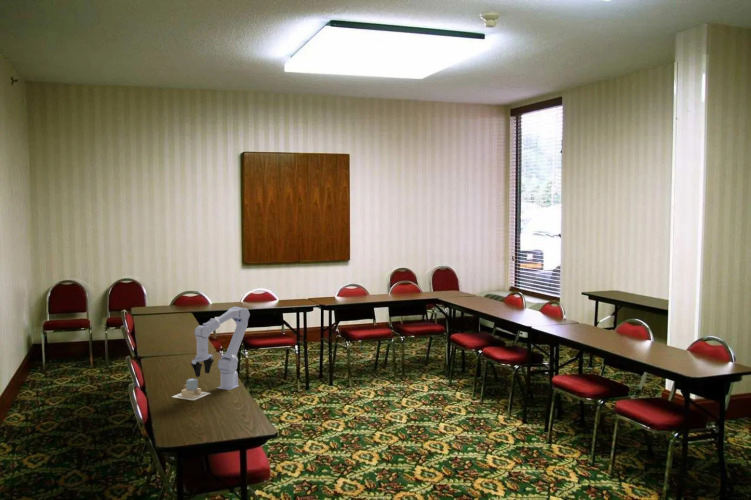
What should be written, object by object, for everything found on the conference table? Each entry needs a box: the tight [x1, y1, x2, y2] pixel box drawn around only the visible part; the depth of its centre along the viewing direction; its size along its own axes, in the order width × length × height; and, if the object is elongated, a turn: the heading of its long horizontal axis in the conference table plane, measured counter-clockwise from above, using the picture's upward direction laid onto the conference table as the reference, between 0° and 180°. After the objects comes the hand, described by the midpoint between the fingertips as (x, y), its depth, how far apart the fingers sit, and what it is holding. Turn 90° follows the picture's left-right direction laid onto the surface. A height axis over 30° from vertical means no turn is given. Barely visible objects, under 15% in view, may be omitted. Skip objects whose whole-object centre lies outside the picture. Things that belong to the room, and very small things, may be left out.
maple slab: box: [180, 387, 202, 398], centre depth 329 cm, size 7×7×3 cm
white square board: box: [171, 391, 211, 401], centre depth 329 cm, size 14×14×1 cm
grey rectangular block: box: [185, 378, 199, 391], centre depth 329 cm, size 4×4×5 cm
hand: (202, 374), depth 332 cm, fingers open, 7 cm apart
